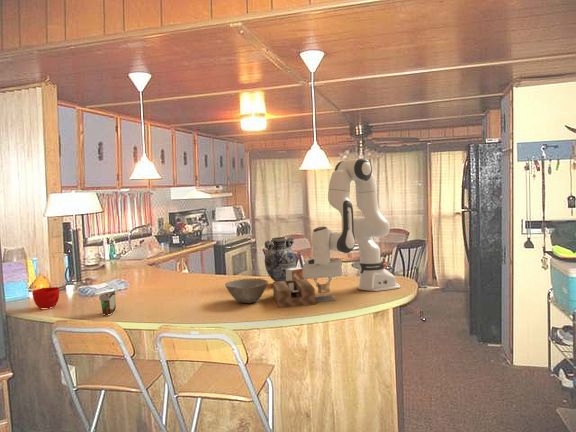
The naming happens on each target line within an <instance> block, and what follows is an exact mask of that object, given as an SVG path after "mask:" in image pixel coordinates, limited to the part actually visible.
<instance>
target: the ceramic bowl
mask: <svg viewBox="0 0 576 432" xmlns="http://www.w3.org/2000/svg"><path fill="white" fill-rule="evenodd" d="M268 283H269V281H268V280H267V279H262V278H255V277H254V278H242V279H234V280H231V281H228V282H225V284H224V285H225V288H226V289H227V291H228V292H229V294H230V295H231V296H232V298H233V299H234V300H235V301H237V302H238V303H242V304H254V303H257V302H258V301H259V300H260V299H261V297H262V296H263V294H264V292H265V290H266V287H267V285H268Z"/></svg>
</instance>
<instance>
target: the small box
mask: <svg viewBox="0 0 576 432" xmlns="http://www.w3.org/2000/svg"><path fill="white" fill-rule="evenodd" d="M302 270H303V267H299V266H296V267H295V268H290V269H286V281H290V280H302V279H304V278H303V276H302Z"/></svg>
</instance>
